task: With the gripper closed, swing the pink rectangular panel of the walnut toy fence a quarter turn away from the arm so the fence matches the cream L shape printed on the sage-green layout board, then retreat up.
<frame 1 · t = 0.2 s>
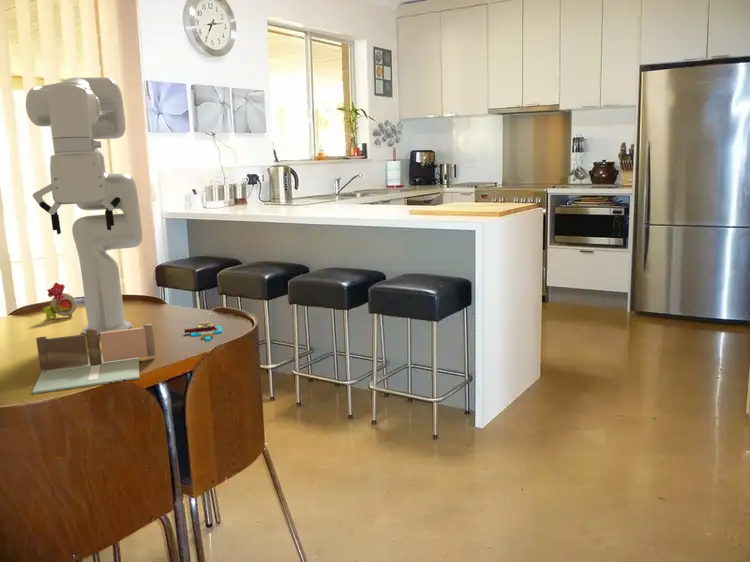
hand: (84, 231, 138), 30 cm above the table, fingers open, 9 cm apart
pink rectangular panel: (128, 342, 150), point 4 cm above the table, hinge at 0.0°
layout card: (90, 369, 146), on the table
fence fixed: (96, 366, 149), resting on layout card
bird rattle: (62, 318, 205), on the table
gear mechanism: (203, 335, 176), on the table
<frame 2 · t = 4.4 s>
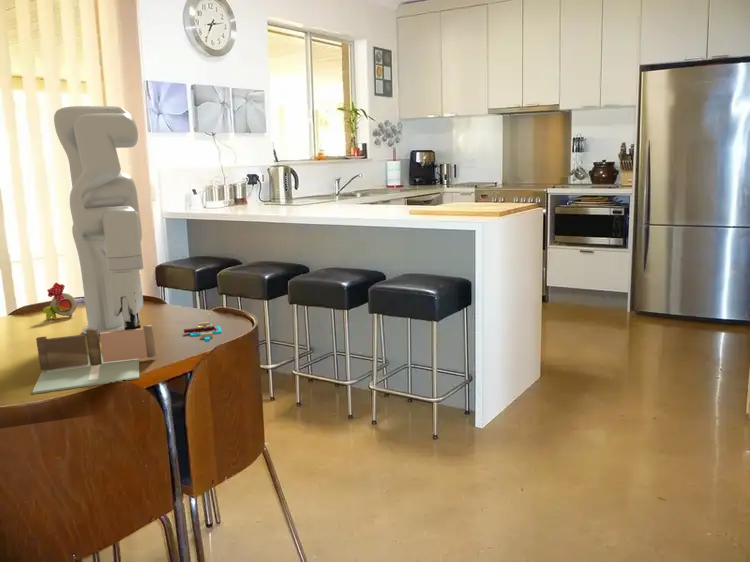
hand: (134, 342, 153), 4 cm above the table, fingers closed
pink rectangular panel: (128, 343, 150), point 4 cm above the table, hinge at 5.4°, touching gripper
everything else where it was.
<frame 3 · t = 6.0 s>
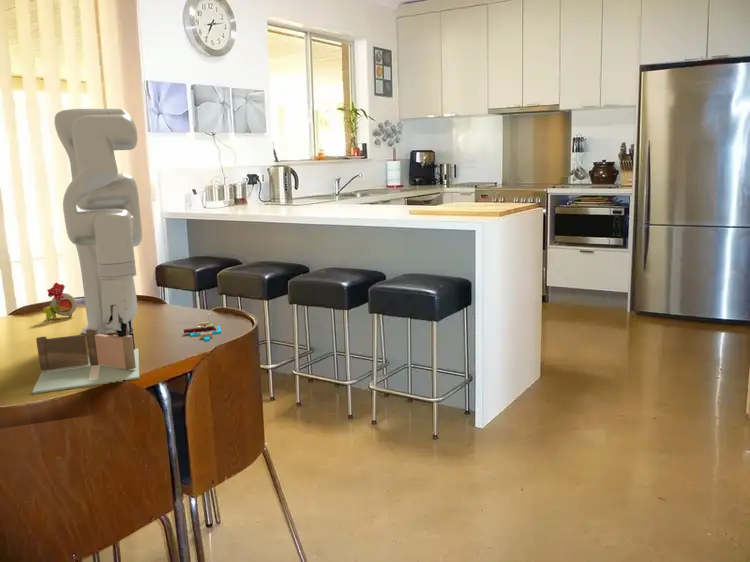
hand: (126, 351, 147), 3 cm above the table, fingers closed
pink rectangular panel: (115, 350, 144), point 4 cm above the table, hinge at 51.2°, touching gripper
everything else where it was.
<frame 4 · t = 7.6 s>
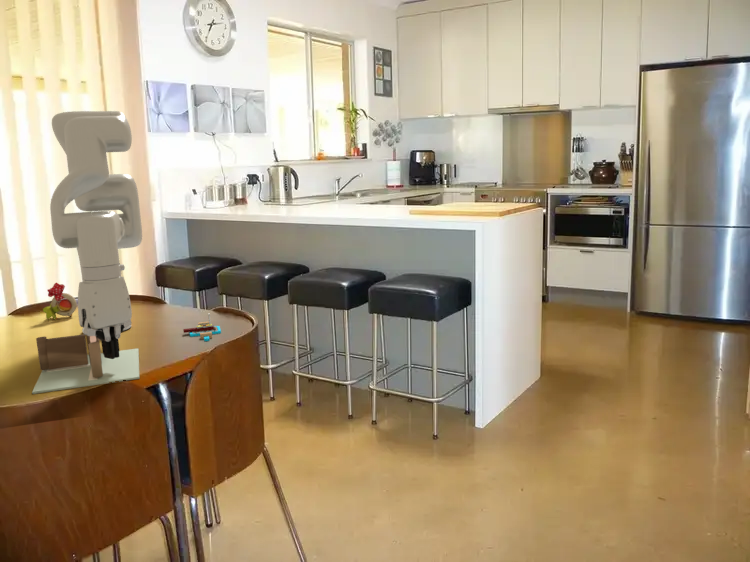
hand: (111, 357, 143), 3 cm above the table, fingers closed
pink rectangular panel: (95, 354, 142), point 4 cm above the table, hinge at 85.4°, touching gripper
everything else where it was.
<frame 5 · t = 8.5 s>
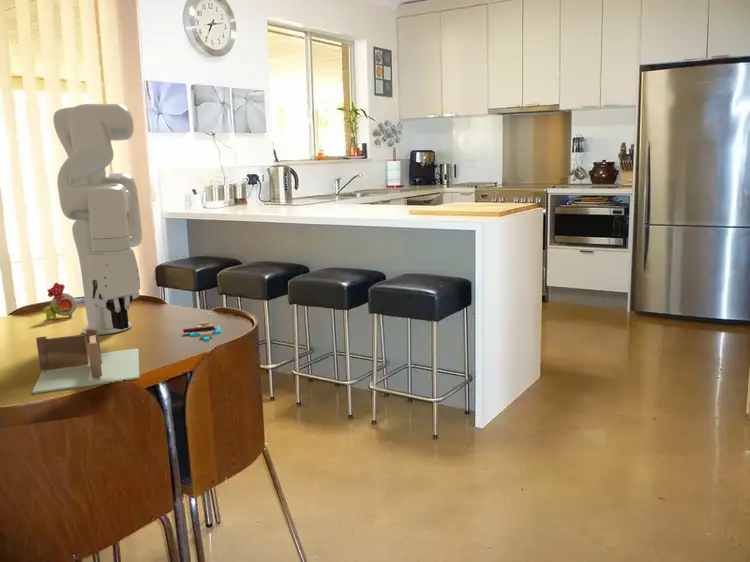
hand: (120, 327, 145), 9 cm above the table, fingers closed
pink rectangular panel: (94, 354, 142), point 4 cm above the table, hinge at 86.1°
everything else where it was.
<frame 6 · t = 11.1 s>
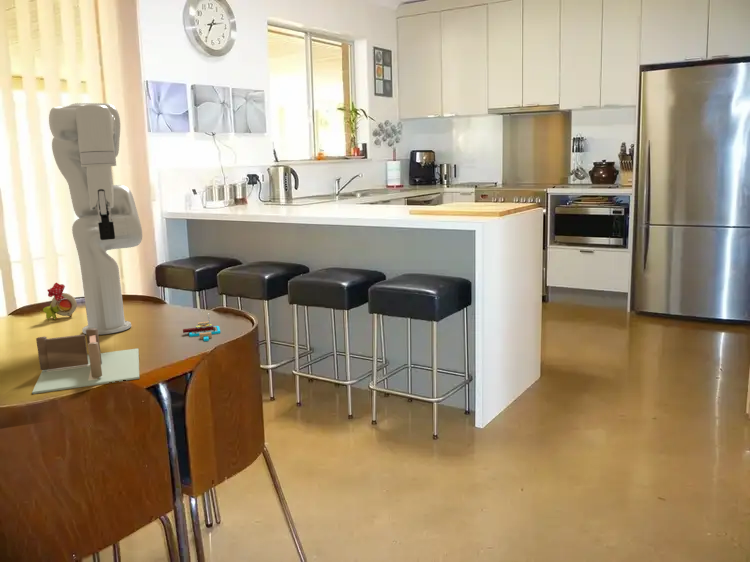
hand: (107, 239, 157), 27 cm above the table, fingers closed
nothing on the table moved.
at the end: pink rectangular panel at +86° (first picture: +0°) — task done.
